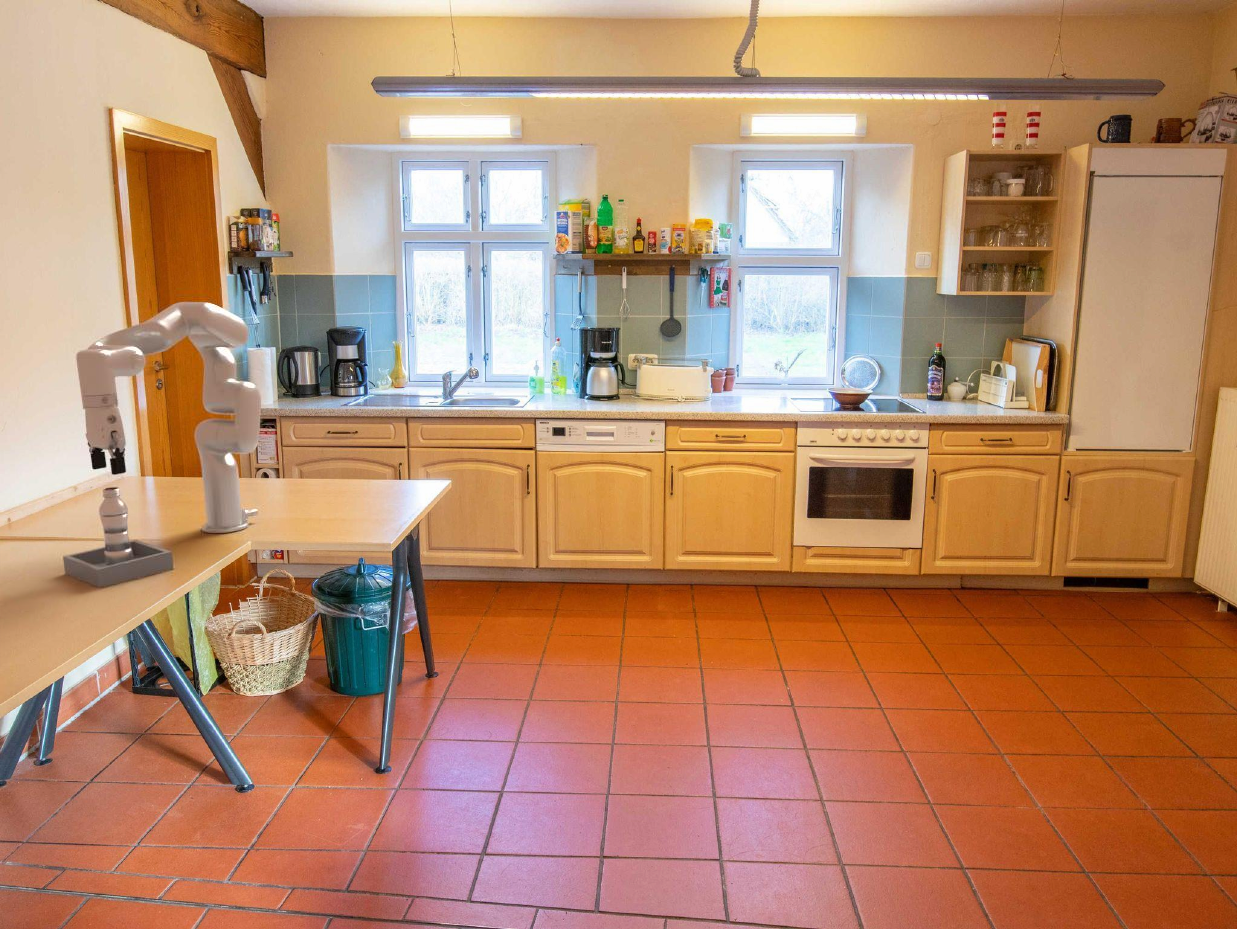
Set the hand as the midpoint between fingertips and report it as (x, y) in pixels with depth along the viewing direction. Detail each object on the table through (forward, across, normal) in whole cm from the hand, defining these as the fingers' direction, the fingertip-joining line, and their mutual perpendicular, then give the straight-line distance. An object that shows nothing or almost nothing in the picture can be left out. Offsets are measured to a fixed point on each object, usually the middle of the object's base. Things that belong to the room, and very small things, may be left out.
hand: (109, 471), depth 236 cm
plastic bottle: (+25, 0, +1) cm, 25 cm away
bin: (+25, 0, +1) cm, 25 cm away
